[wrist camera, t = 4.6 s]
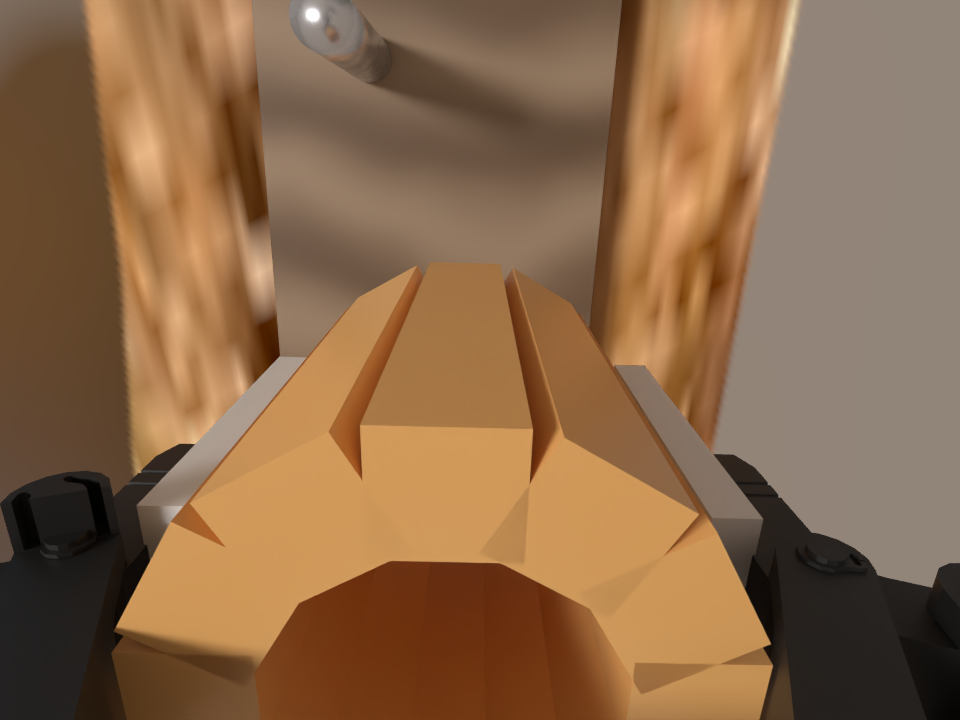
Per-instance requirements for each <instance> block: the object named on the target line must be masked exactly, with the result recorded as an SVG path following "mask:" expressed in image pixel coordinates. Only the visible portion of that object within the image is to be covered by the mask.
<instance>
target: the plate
mask: <svg viewBox="0 0 960 720" xmlns="http://www.w3.org/2000/svg"><path fill="white" fill-rule="evenodd" d="M290 1H291V0H252V12H253V25H254V37H255V49H256V62H257V74H258V87H259V99H260V111H261V124H262V136H263V148H264V161H265V173H266V186H267V198H268V210H269V223H270V235H271V247H272V260H273V272H274V285H275V297H276V309H277V322H278V334H279V346H280V357H308V355H309V354H310V353H311V352H312V351H313V349H314V348H315V347H316V346H317V344H318V343H319V342H320V341H321V340H322V338H323V337H324V336H325V335H326V334H327V332H328V331H329V330H330V329H331V328H332V326H333V325H334V324H335V323H336V322H337V320H338V319H339V318H340V317H341V316H342V314H343V313H344V312H345V311H346V310H347V308H348V307H351V306H352V304H353V303H354V302H355V301H356V299H357V298H358V297H360V296H362V295H364V294H366V293H367V292H369V291H371V290H373V289H375V288H377V287H378V286H380V285H382V284H384V283H386V282H387V281H389V280H391V279H393V278H395V277H397V276H398V275H400V274H402V273H404V272H406V271H407V270H409V269H411V268H413V267H415V266H418V267H419V269H420V271H421V272H422V274H423V276H424V275H425V273H426V271H427V268H428V266H429V264H430V262H448V263H485V264H501V269H502V275H503V280H504V281H505V280H506V278H507V277H508V275H509V273H510V272H511V270H512V269H513V268H514V269H516V270H518V271H519V272H521V273H523V274H524V275H526V276H527V277H529V278H531V279H532V280H534V281H535V282H537V283H539V284H540V285H542V286H544V287H545V288H547V289H548V290H550V291H552V292H553V293H555V294H557V295H558V296H560V297H561V298H563V299H565V300H566V301H568V302H569V303H571V304H572V306H573V308H574V309H575V311H576V313H577V314H578V313H580V314H581V316H582V318H583V319H584V321H585V322H586V324H587V326H588V327H589V325H590V315H591V305H592V295H593V285H594V275H595V265H596V255H597V245H598V235H599V225H600V215H601V206H602V196H603V186H604V176H605V166H606V156H607V146H608V136H609V126H610V116H611V106H612V96H613V86H614V76H615V66H616V56H617V46H618V36H619V26H620V16H621V6H622V0H351V1H352V2H353V3H354V4H355V5H356V7H357V8H358V9H359V10H360V12H361V13H362V14H363V15H364V17H365V18H366V19H367V20H368V21H369V23H370V24H371V25H372V26H373V28H374V29H375V30H376V31H377V32H378V34H379V35H380V36H381V37H382V39H383V40H384V41H385V42H386V44H387V45H388V47H389V49H390V52H391V59H392V60H391V67H390V70H389V72H388V74H387V75H386V76H385V77H384V78H383V79H382V80H380V81H378V82H375V83H365V82H362V81H360V80H358V79H357V78H355V77H354V76H352V75H351V74H349V73H347V72H346V71H344V70H343V69H341V68H339V67H338V66H336V65H335V64H333V63H332V62H330V61H328V60H327V59H325V58H324V57H322V56H320V55H319V54H317V53H316V52H314V51H312V50H311V49H309V48H308V47H306V46H305V45H304V44H303V43H301V42H300V40H299V39H298V38H297V37H296V35H295V33H294V31H293V29H292V27H291V24H290V19H289V6H290Z"/></svg>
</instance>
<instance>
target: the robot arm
mask: <svg viewBox="0 0 960 720" xmlns="http://www.w3.org/2000/svg"><path fill="white" fill-rule="evenodd" d="M306 358H307V357H279V358H278V359H277V360H276V361H275V362H274V363H273V364H272V365H271V366H270V367H269V368H268V369H267V370H266V371H265V373H264V374H263V375H262V376H261V377H260V378H259V379H258V380H257V381H256V382H255V383H254V384H253V385H252V386H251V387H250V388H249V389H248V390H247V391H246V392H245V393H244V394H243V395H242V396H241V397H240V398H239V400H238V401H237V402H236V403H235V404H234V405H233V406H232V407H231V408H230V409H229V410H228V411H227V412H226V413H225V414H224V415H223V416H222V417H221V418H220V419H219V420H218V421H217V422H216V423H215V424H214V425H213V427H212V428H211V429H210V430H209V431H208V432H207V433H206V434H205V435H204V436H203V437H202V438H201V439H200V440H199V441H198V442H197V443H196V444H178V445H177V446H175V447H173V448H171V449H169V450H167V451H165V452H163V453H161V454H159V455H157V456H156V457H155V458H154V459H153V460H152V461H151V462H150V463H149V464H148V465H146V466H145V467H144V468H143V469H142V470H141V473H138V474H137V475H136V476H135V477H134V478H133V479H132V480H131V481H130V482H129V485H125V486H124V487H123V488H122V489H121V490H120V491H119V492H118V493H117V494H116V495H115V496H114V497H113V494H112V489H111V484H110V479H109V478H108V477H106V476H105V475H103V474H102V473H97V472H90V471H79V472H66V473H61V474H57V475H52V476H48V477H45V478H42V479H39V480H37V481H34V482H31V483H29V484H26V485H24V486H22V487H21V488H19V489H17V490H15V491H14V492H12V493H10V494H9V495H8V496H7V497H6V498H5V499H4V500H3V501H2V502H1V503H0V505H1V509H2V512H3V516H4V519H5V523H6V526H7V530H8V533H9V537H10V540H11V544H12V547H13V551H14V555H13V557H12V559H11V561H9V562H4V563H0V720H127V718H126V714H125V709H124V705H123V701H122V697H121V692H120V688H119V684H118V680H117V675H116V671H115V667H114V662H113V658H112V654H111V653H112V651H113V650H114V649H115V647H116V646H117V645H118V643H119V642H120V640H121V639H122V638H123V635H121V634H119V633H116V632H114V630H115V628H116V626H117V624H118V622H119V620H120V618H121V617H122V615H123V613H124V611H125V609H126V607H127V605H128V603H129V601H130V599H131V597H132V595H133V593H134V591H135V589H136V587H137V586H138V584H139V582H140V580H141V578H142V576H143V574H144V572H145V570H146V568H147V566H148V564H149V562H150V560H151V558H152V557H153V555H154V553H155V551H156V549H157V547H158V545H159V543H160V541H161V539H162V537H163V535H164V533H165V531H166V529H167V528H168V526H169V524H170V522H171V520H172V519H173V518H174V517H175V516H176V514H177V513H178V512H179V511H180V510H181V508H182V507H183V506H184V505H185V504H186V502H187V501H188V500H189V499H190V498H191V496H192V495H193V494H194V493H195V492H196V490H197V489H198V488H199V487H200V486H201V484H202V483H203V482H204V481H205V479H206V478H207V477H208V476H209V475H210V473H211V472H212V471H213V470H214V469H215V467H216V466H217V465H218V464H219V463H220V461H221V460H222V459H223V458H224V457H225V455H226V454H227V453H228V452H229V451H230V449H231V448H232V447H233V446H234V445H235V443H236V442H237V441H238V440H239V439H240V437H241V436H242V435H243V434H244V432H245V431H246V430H247V429H248V428H249V426H250V425H251V424H252V423H253V422H254V420H255V419H256V418H257V417H258V416H259V414H260V413H261V412H262V411H263V410H264V408H265V407H266V406H267V405H268V404H269V402H270V401H271V400H272V399H273V398H274V396H275V395H276V394H277V393H278V391H279V390H280V389H281V388H282V387H283V385H284V384H285V383H286V382H287V381H288V379H289V378H290V377H291V376H292V375H293V373H294V372H295V371H296V370H297V369H298V367H299V366H300V365H301V364H302V363H303V361H304V360H305V359H306ZM614 369H615V370H616V372H617V373H618V375H619V377H620V378H621V380H622V381H623V383H624V385H625V386H626V388H627V389H628V391H629V393H630V394H631V396H632V397H633V399H634V401H635V402H636V404H637V405H638V407H639V409H640V410H641V412H642V413H643V415H644V417H645V418H646V420H647V421H648V423H649V424H650V426H651V428H652V429H653V431H654V432H655V434H656V436H657V437H658V439H659V440H660V442H661V444H662V445H663V447H664V448H665V450H666V452H667V453H668V455H669V456H670V458H671V460H672V461H673V463H674V464H675V466H676V468H677V469H678V471H679V472H680V474H681V476H682V477H683V479H684V480H685V482H686V483H687V485H688V487H689V488H690V490H691V491H692V493H693V495H694V496H695V498H696V499H697V501H698V503H699V504H700V506H701V507H702V509H703V511H704V512H705V514H706V515H707V517H708V519H709V520H710V522H711V523H712V525H713V527H714V528H715V530H716V531H717V533H718V535H719V537H720V539H721V541H722V543H723V545H724V547H725V549H726V551H727V554H728V556H729V558H730V560H731V562H732V564H733V566H734V568H735V570H736V572H737V574H738V576H739V579H740V581H741V583H742V585H743V587H744V589H745V591H746V593H747V595H748V597H749V599H750V601H751V603H752V606H753V608H754V610H755V612H756V614H757V616H758V618H759V620H760V622H761V624H762V626H763V628H764V630H765V633H766V635H767V637H768V639H769V641H770V643H771V644H770V645H767V646H765V647H763V649H764V651H765V652H766V654H767V656H768V658H769V659H770V661H771V663H772V664H773V668H772V672H771V676H770V679H769V683H768V687H767V691H766V695H765V699H764V703H763V707H762V711H761V715H760V719H759V720H960V563H949V564H947V565H945V566H942V567H940V568H939V570H938V572H937V575H936V578H935V581H934V584H933V587H932V588H931V587H926V586H922V585H916V584H912V583H908V582H903V581H899V580H894V579H889V578H885V577H882V576H878V575H877V573H876V570H875V569H874V567H873V566H872V564H871V563H870V561H869V560H868V559H867V558H866V557H865V556H864V555H862V554H861V553H860V552H858V551H857V550H856V549H855V548H853V547H851V546H849V545H847V544H845V543H843V542H841V541H839V540H837V539H834V538H831V537H828V536H825V535H821V534H816V533H811V532H810V530H809V529H808V528H807V527H806V526H805V525H804V524H803V522H802V521H801V520H800V519H799V518H798V517H797V516H796V514H795V513H794V512H793V511H792V510H791V509H790V508H789V506H788V505H787V504H786V503H785V502H784V501H783V500H782V498H778V494H777V493H776V492H775V490H774V489H773V488H772V487H771V486H770V485H768V483H767V481H766V480H765V479H764V478H763V477H762V475H761V474H760V473H759V472H758V471H757V470H756V469H755V468H754V467H753V466H751V465H749V464H748V463H746V462H745V461H743V460H741V459H740V458H738V457H737V456H735V455H721V454H713V453H712V452H711V451H710V450H709V448H708V447H707V446H706V444H705V443H704V442H703V441H702V439H701V438H700V437H699V435H698V434H697V433H696V431H695V430H694V429H693V428H692V426H691V425H690V424H689V422H688V421H687V420H686V419H685V417H684V416H683V415H682V413H681V412H680V411H679V410H678V408H677V407H676V406H675V404H674V403H673V402H672V400H671V399H670V398H669V397H668V395H667V394H666V393H665V391H664V390H663V389H662V388H661V386H660V385H659V384H658V382H657V381H656V380H655V379H654V377H653V376H652V375H651V373H650V372H649V371H648V369H647V368H646V367H645V366H637V365H615V366H614Z"/></svg>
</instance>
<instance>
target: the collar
mask: <svg viewBox="0 0 960 720" xmlns="http://www.w3.org/2000/svg"><path fill="white" fill-rule="evenodd" d="M114 632H116V633H119V634H121V635H123V638H122V639H121V640H120V642H119V643H118V645H117V646H116V647H115V649H114V650H113V651H112V653H111V654H112V658H113V662H114V667H115V671H116V675H117V680H118V684H119V688H120V692H121V697H122V701H123V705H124V709H125V714H126V718H127V720H759V719H760V715H761V711H762V707H763V703H764V699H765V695H766V691H767V687H768V683H769V679H770V676H771V672H772V668H773V664H772V663H771V661H770V659H769V658H768V656H767V654H766V652H765V651H764V649H763V647H765V646H767V645H770V644H771V643H770V641H769V639H768V637H767V635H766V633H765V630H764V628H763V626H762V624H761V622H760V620H759V618H758V616H757V614H756V612H755V610H754V608H753V606H752V603H751V601H750V599H749V597H748V595H747V593H746V591H745V589H744V587H743V585H742V583H741V581H740V579H739V576H738V574H737V572H736V570H735V568H734V566H733V564H732V562H731V560H730V558H729V556H728V554H727V551H726V549H725V547H724V545H723V543H722V541H721V539H720V537H719V535H718V533H717V531H716V530H715V528H714V527H713V525H712V523H711V522H710V520H709V519H708V517H707V515H706V514H705V512H704V511H703V509H702V507H701V506H700V504H699V503H698V501H697V499H696V498H695V496H694V495H693V493H692V491H691V490H690V488H689V487H688V485H687V483H686V482H685V480H684V479H683V477H682V476H681V474H680V472H679V471H678V469H677V468H676V466H675V464H674V463H673V461H672V460H671V458H670V456H669V455H668V453H667V452H666V450H665V448H664V447H663V445H662V444H661V442H660V440H659V439H658V437H657V436H656V434H655V432H654V431H653V429H652V428H651V426H650V424H649V423H648V421H647V420H646V418H645V417H644V415H643V413H642V412H641V410H640V409H639V407H638V405H637V404H636V402H635V401H634V399H633V397H632V396H631V394H630V393H629V391H628V389H627V388H626V386H625V385H624V383H623V381H622V380H621V378H620V377H619V375H618V373H617V372H616V370H615V369H614V367H613V365H612V364H611V362H610V361H609V359H608V357H607V356H606V354H605V353H604V351H603V350H602V348H601V346H600V345H599V343H598V342H597V340H596V338H595V337H594V335H593V334H592V332H591V330H590V329H589V327H588V326H587V324H586V322H585V321H584V319H583V318H582V316H581V314H580V313H578V314H577V313H576V311H575V309H574V308H573V306H572V304H571V303H569V302H568V301H566V300H565V299H563V298H561V297H560V296H558V295H557V294H555V293H553V292H552V291H550V290H548V289H547V288H545V287H544V286H542V285H540V284H539V283H537V282H535V281H534V280H532V279H531V278H529V277H527V276H526V275H524V274H523V273H521V272H519V271H518V270H516V269H514V268H513V269H512V270H511V272H510V273H509V275H508V277H507V278H506V280H505V281H504V280H503V275H502V269H501V264H485V263H448V262H430V264H429V266H428V268H427V271H426V273H425V275H424V276H423V274H422V272H421V271H420V269H419V267H418V266H415V267H413V268H411V269H409V270H407V271H406V272H404V273H402V274H400V275H398V276H397V277H395V278H393V279H391V280H389V281H387V282H386V283H384V284H382V285H380V286H378V287H377V288H375V289H373V290H371V291H369V292H367V293H366V294H364V295H362V296H360V297H358V298H357V299H356V301H355V302H354V303H353V304H352V306H351V307H348V308H347V310H346V311H345V312H344V313H343V314H342V316H341V317H340V318H339V319H338V320H337V322H336V323H335V324H334V325H333V326H332V328H331V329H330V330H329V331H328V332H327V334H326V335H325V336H324V337H323V338H322V340H321V341H320V342H319V343H318V344H317V346H316V347H315V348H314V349H313V351H312V352H311V353H310V354H309V355H308V357H307V358H306V359H305V360H304V361H303V363H302V364H301V365H300V366H299V367H298V369H297V370H296V371H295V372H294V373H293V375H292V376H291V377H290V378H289V379H288V381H287V382H286V383H285V384H284V385H283V387H282V388H281V389H280V390H279V391H278V393H277V394H276V395H275V396H274V398H273V399H272V400H271V401H270V402H269V404H268V405H267V406H266V407H265V408H264V410H263V411H262V412H261V413H260V414H259V416H258V417H257V418H256V419H255V420H254V422H253V423H252V424H251V425H250V426H249V428H248V429H247V430H246V431H245V432H244V434H243V435H242V436H241V437H240V439H239V440H238V441H237V442H236V443H235V445H234V446H233V447H232V448H231V449H230V451H229V452H228V453H227V454H226V455H225V457H224V458H223V459H222V460H221V461H220V463H219V464H218V465H217V466H216V467H215V469H214V470H213V471H212V472H211V473H210V475H209V476H208V477H207V478H206V479H205V481H204V482H203V483H202V484H201V486H200V487H199V488H198V489H197V490H196V492H195V493H194V494H193V495H192V496H191V498H190V499H189V500H188V501H187V502H186V504H185V505H184V506H183V507H182V508H181V510H180V511H179V512H178V513H177V514H176V516H175V517H174V518H173V519H172V520H171V522H170V524H169V526H168V528H167V529H166V531H165V533H164V535H163V537H162V539H161V541H160V543H159V545H158V547H157V549H156V551H155V553H154V555H153V557H152V558H151V560H150V562H149V564H148V566H147V568H146V570H145V572H144V574H143V576H142V578H141V580H140V582H139V584H138V586H137V587H136V589H135V591H134V593H133V595H132V597H131V599H130V601H129V603H128V605H127V607H126V609H125V611H124V613H123V615H122V617H121V618H120V620H119V622H118V624H117V626H116V628H115V630H114Z"/></svg>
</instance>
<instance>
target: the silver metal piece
mask: <svg viewBox="0 0 960 720" xmlns="http://www.w3.org/2000/svg"><path fill="white" fill-rule="evenodd" d="M289 19H290V24H291V27H292V29H293V31H294V33H295V35H296V37H297V38H298V39H299V40H300V42H301V43H303V44H304V45H305V46H306V47H308V48H309V49H311V50H312V51H314V52H316V53H317V54H319V55H320V56H322V57H324V58H325V59H327V60H328V61H330V62H332V63H333V64H335V65H336V66H338V67H339V68H341V69H343V70H344V71H346V72H347V73H349V74H351V75H352V76H354V77H355V78H357V79H358V80H360V81H362V82H365V83H375V82H378V81H380V80H382V79H383V78H384V77H385V76H386V75H387V74H388V72H389V70H390V67H391V60H392V59H391V52H390V49H389V47H388V45H387V44H386V42H385V41H384V40H383V39H382V37H381V36H380V35H379V34H378V32H377V31H376V30H375V29H374V28H373V26H372V25H371V24H370V23H369V21H368V20H367V19H366V18H365V17H364V15H363V14H362V13H361V12H360V10H359V9H358V8H357V7H356V5H355V4H354V3H353V2H352V1H351V0H291V1H290V6H289Z"/></svg>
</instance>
